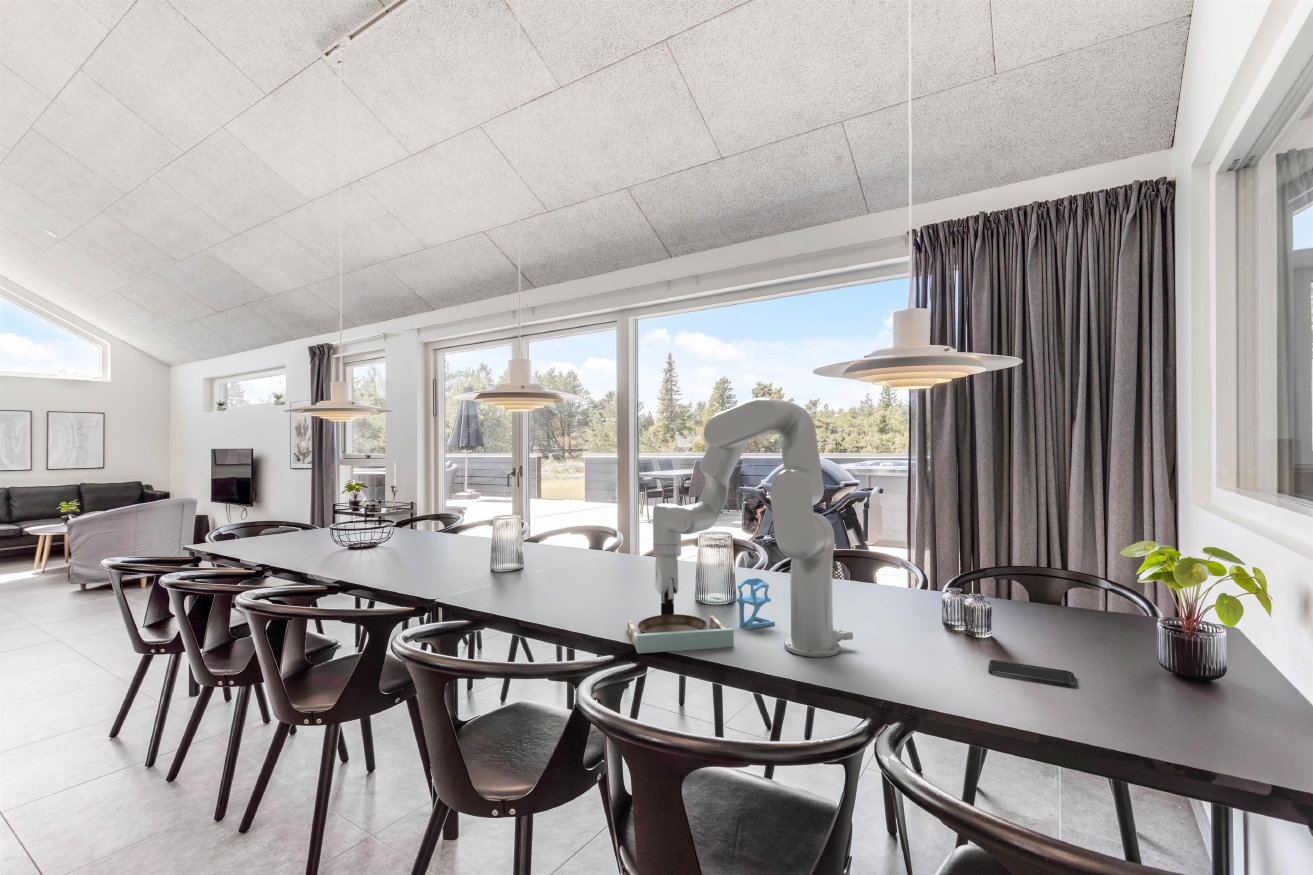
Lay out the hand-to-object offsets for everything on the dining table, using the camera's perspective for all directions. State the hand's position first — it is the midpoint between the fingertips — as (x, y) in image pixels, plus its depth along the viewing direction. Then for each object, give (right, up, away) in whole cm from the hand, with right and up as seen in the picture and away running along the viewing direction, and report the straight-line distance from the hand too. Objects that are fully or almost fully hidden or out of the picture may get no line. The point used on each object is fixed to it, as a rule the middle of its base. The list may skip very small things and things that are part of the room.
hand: (667, 617), depth 165 cm
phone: (+74, -1, -39) cm, 84 cm away
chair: (+23, -1, -2) cm, 23 cm away
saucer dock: (+2, -1, -13) cm, 13 cm away
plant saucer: (+1, -2, -10) cm, 11 cm away
